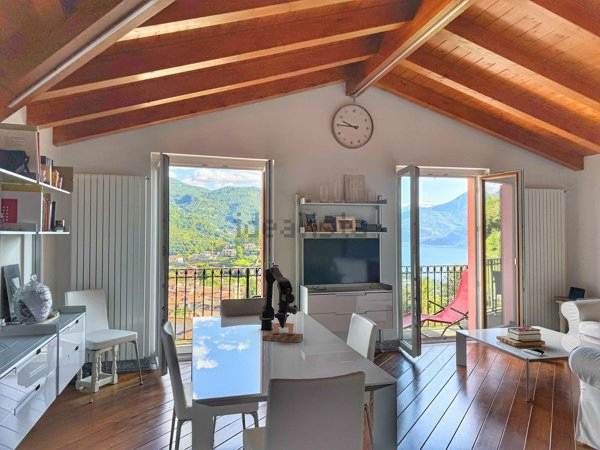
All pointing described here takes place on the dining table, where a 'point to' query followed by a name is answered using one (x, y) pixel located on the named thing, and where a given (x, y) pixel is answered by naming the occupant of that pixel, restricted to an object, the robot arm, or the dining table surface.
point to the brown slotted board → (283, 337)
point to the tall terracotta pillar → (286, 325)
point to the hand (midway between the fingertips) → (283, 327)
